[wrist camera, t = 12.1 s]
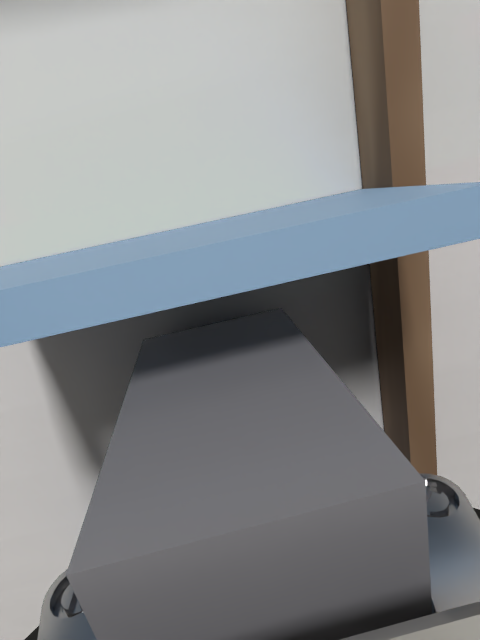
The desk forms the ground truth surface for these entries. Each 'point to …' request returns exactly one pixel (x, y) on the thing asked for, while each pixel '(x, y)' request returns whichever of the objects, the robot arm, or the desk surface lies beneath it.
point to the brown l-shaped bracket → (396, 171)
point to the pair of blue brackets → (230, 257)
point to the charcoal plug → (249, 499)
